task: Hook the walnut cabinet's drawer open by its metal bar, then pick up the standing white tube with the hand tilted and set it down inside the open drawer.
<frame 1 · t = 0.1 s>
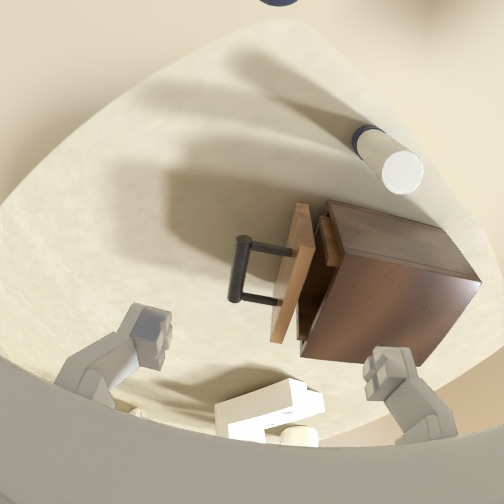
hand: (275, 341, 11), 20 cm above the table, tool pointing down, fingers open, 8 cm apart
drawer: (326, 280, 28), point 5 cm above the table, slide at 2.0 cm
cabinet: (372, 262, 32), on the table
tube: (369, 142, 25), on the table
alcohol: (299, 430, 60), on the table
white cradle stand: (270, 399, 52), on the table
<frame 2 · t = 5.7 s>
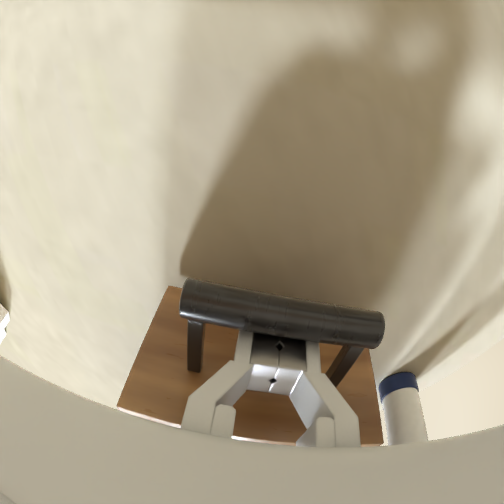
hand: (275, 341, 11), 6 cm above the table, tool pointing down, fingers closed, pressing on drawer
drawer: (249, 402, 16), point 5 cm above the table, slide at 4.3 cm, touching gripper
tube: (397, 382, 22), on the table
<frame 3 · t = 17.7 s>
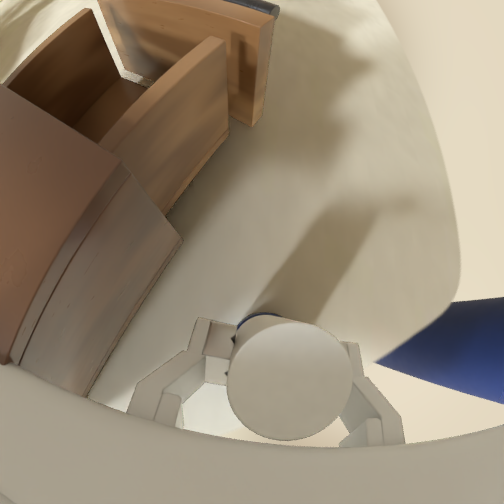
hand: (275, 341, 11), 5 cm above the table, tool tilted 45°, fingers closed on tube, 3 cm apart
drawer: (132, 85, 13), point 5 cm above the table, slide at 7.7 cm
cabinet: (46, 282, 16), on the table
tube: (263, 343, 16), on the table, touching gripper
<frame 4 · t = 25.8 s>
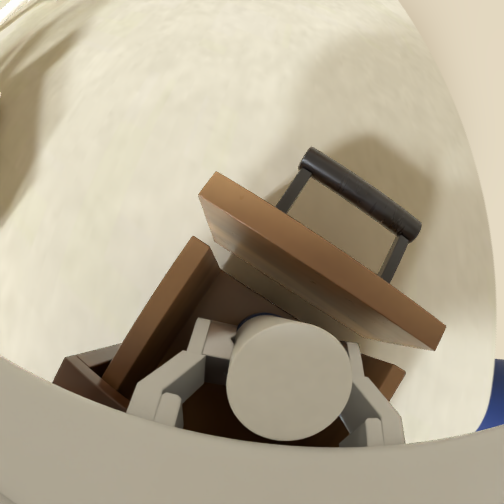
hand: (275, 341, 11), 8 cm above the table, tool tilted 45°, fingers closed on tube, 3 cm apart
drawer: (271, 342, 14), point 5 cm above the table, slide at 7.7 cm
white block on rod: (17, 20, 26), on the table
cabinet: (169, 464, 16), on the table
tube: (263, 343, 16), point 3 cm above the table, touching gripper
when the fingers open (9 cm above the table, at t = 33.6 s): tube drops 3 cm, resting on drawer.
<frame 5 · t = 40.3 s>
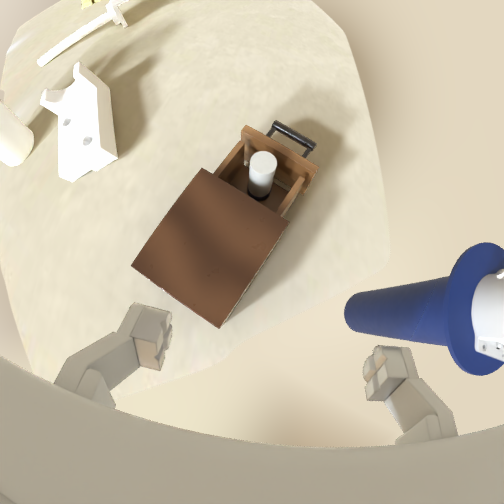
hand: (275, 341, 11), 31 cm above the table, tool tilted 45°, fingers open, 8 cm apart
drawer: (262, 180, 41), point 5 cm above the table, slide at 7.7 cm, touching tube
white block on rod: (92, 37, 52), on the table
cabinet: (215, 257, 43), on the table
tube: (258, 190, 43), point 2 cm above the table, touching drawer
alcohol: (21, 149, 46), on the table
white cradle stand: (87, 135, 47), on the table
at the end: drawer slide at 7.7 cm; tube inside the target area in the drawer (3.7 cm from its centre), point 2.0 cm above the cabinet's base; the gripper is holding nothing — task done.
